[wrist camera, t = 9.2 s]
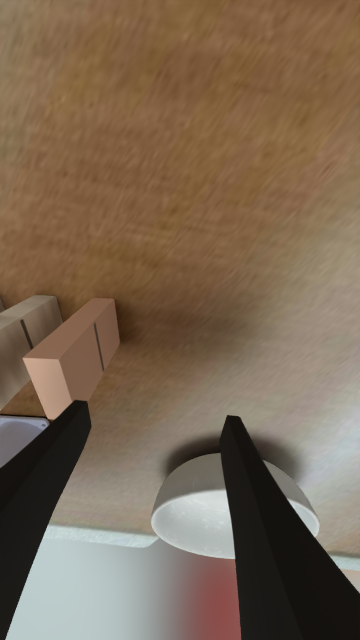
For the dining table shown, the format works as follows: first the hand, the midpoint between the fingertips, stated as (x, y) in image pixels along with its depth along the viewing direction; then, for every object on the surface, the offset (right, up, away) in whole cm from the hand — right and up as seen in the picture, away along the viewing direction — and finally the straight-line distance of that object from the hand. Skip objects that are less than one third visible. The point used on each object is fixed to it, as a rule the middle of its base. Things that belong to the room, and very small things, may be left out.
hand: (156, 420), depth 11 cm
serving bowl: (+8, -19, +21) cm, 29 cm away
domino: (-11, +5, +10) cm, 16 cm away
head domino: (-6, +5, +9) cm, 12 cm away
